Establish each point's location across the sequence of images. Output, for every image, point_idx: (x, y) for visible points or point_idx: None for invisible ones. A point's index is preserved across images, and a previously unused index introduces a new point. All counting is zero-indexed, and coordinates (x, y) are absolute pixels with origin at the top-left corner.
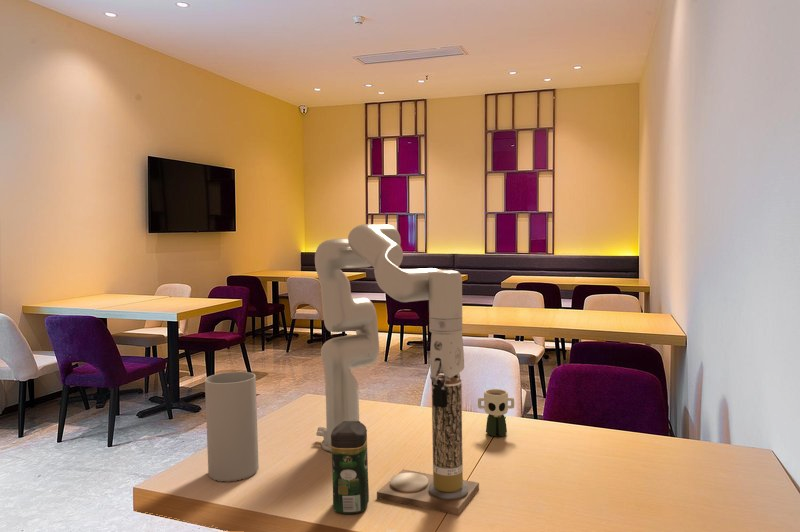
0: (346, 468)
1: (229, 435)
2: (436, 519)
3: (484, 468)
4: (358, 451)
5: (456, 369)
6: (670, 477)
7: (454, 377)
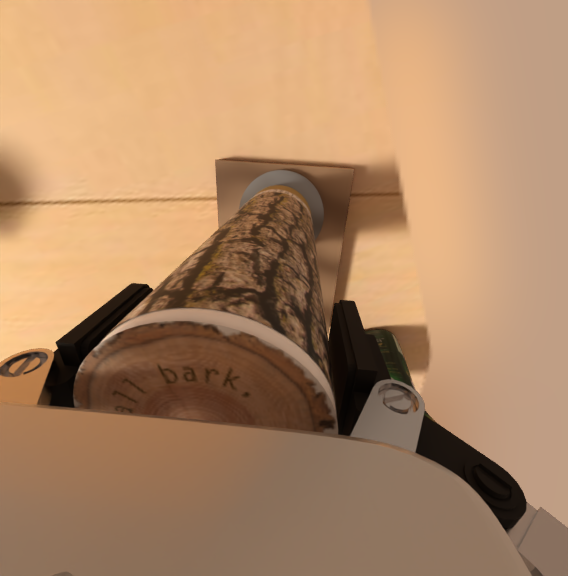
0: None
1: None
2: (379, 206)
3: (112, 177)
4: (433, 420)
5: (196, 509)
6: None
7: (80, 398)
